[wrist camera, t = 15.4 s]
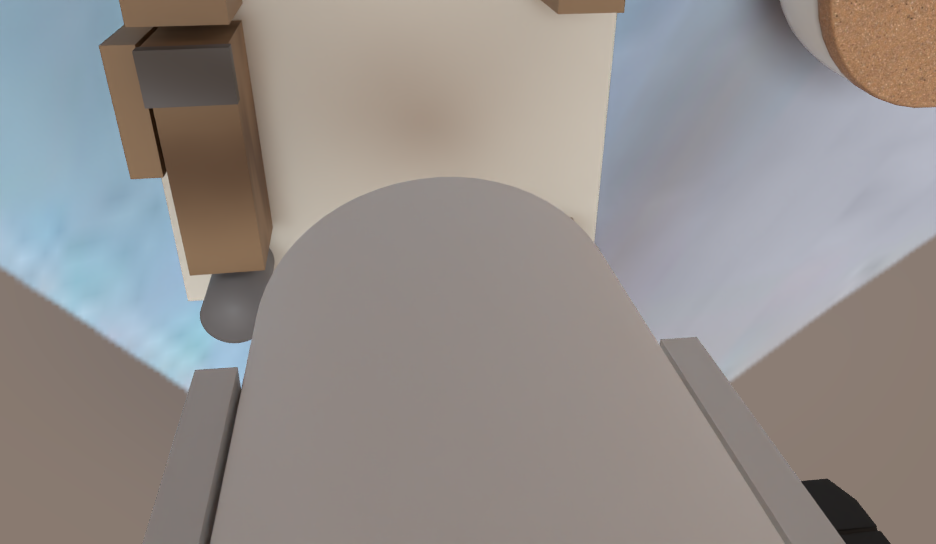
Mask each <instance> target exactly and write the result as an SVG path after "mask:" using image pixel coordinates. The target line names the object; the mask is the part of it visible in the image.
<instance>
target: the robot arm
mask: <svg viewBox="0 0 936 544" xmlns="http://www.w3.org/2000/svg"><path fill="white" fill-rule="evenodd" d="M660 347H661V348H662V350H663V352H664V353H665V355H666V356H667V358H668V359H669V361H670V363H671V364H672V366H673V367H674V369H675V371H676V372H677V374H678V375H679V377H680V378H681V380H682V382H683V383H684V385H685V386H686V388H687V390H688V391H689V393H690V394H691V396H692V397H693V399H694V401H695V402H696V404H697V405H698V407H699V409H700V410H701V412H702V413H703V415H704V416H705V418H706V420H707V421H708V423H709V424H710V426H711V427H712V429H713V431H714V432H715V434H716V435H717V437H718V439H719V440H720V442H721V443H722V445H723V446H724V448H725V450H726V451H727V453H728V454H729V456H730V458H731V459H732V461H733V462H734V464H735V465H736V467H737V469H738V470H739V472H740V473H741V475H742V477H743V478H744V480H745V481H746V483H747V484H748V486H749V488H750V489H751V491H752V492H753V494H754V496H755V497H756V499H757V500H758V502H759V503H760V505H761V507H762V508H763V510H764V511H765V513H766V515H767V516H768V518H769V519H770V521H771V522H772V524H773V526H774V527H775V529H776V530H777V532H778V534H779V535H780V537H781V538H782V540H783V541H784V543H785V544H890V542H889V541H888V540H887V539H886V537H885V536H884V535H883V533H882V532H880V531H877V528H876V527H877V526H876V525H875V523H874V522H873V521H872V520H871V518H870V517H869V516H868V514H867V513H866V512H865V511H864V509H863V508H862V507H861V506H860V504H859V503H858V502H857V500H855V499H854V498H853V497H851V496H850V495H849V494H847V493H846V492H845V491H843V490H842V489H841V488H839V487H838V486H836V485H835V484H834V483H833V482H831V481H830V480H828V479H819V480H808V481H800V479H799V478H798V477H797V475H796V474H795V473H794V471H793V470H792V469H791V467H790V466H789V464H788V463H787V461H786V460H785V459H784V458H783V456H782V455H781V453H780V452H779V451H778V449H777V448H776V446H775V445H774V443H773V442H772V441H771V439H770V438H769V437H768V435H767V434H766V432H765V431H764V430H763V428H762V427H761V425H760V424H759V423H758V421H757V420H756V419H755V417H754V416H753V414H752V413H751V412H750V410H749V409H748V407H747V406H746V405H745V403H744V402H743V401H742V399H741V398H740V396H739V395H738V394H737V392H736V391H735V389H734V388H733V387H732V385H731V384H730V382H729V381H728V380H727V378H726V377H725V376H724V374H723V373H722V371H721V370H720V369H719V367H718V366H717V364H716V363H715V362H714V360H713V359H712V357H711V356H710V355H709V353H708V352H707V351H706V349H705V348H704V346H703V345H702V344H701V342H700V341H699V339H698V338H697V337H690V338H674V339H661V340H660ZM240 394H241V386H240V380H239V374H238V368H237V367H233V368H218V369H203V370H195V372H194V375H193V378H192V382H191V385H190V388H189V392H188V395H187V399H186V402H185V405H184V408H183V412H182V415H181V418H180V422H179V425H178V428H177V431H176V435H175V438H174V441H173V445H172V448H171V451H170V454H169V458H168V461H167V464H166V468H165V471H164V474H163V478H162V481H161V484H160V488H159V491H158V494H157V497H156V501H155V504H154V507H153V511H152V514H151V517H150V520H149V524H148V527H147V530H146V534H145V537H144V540H143V544H210V540H211V535H212V530H213V525H214V520H215V515H216V510H217V506H218V501H219V496H220V491H221V486H222V481H223V476H224V472H225V467H226V462H227V457H228V452H229V447H230V442H231V438H232V433H233V428H234V423H235V418H236V413H237V408H238V404H239V399H240Z"/></svg>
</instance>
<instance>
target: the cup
mask: <svg viewBox="0 0 936 544" xmlns="http://www.w3.org/2000/svg"><path fill="white" fill-rule="evenodd" d="M210 544H785V543H784V541H783V540H782V538H781V537H780V535H779V534H778V532H777V530H776V529H775V527H774V526H773V524H772V522H771V521H770V519H769V518H768V516H767V515H766V513H765V511H764V510H763V508H762V507H761V505H760V503H759V502H758V500H757V499H756V497H755V496H754V494H753V492H752V491H751V489H750V488H749V486H748V484H747V483H746V481H745V480H744V478H743V477H742V475H741V473H740V472H739V470H738V469H737V467H736V465H735V464H734V462H733V461H732V459H731V458H730V456H729V454H728V453H727V451H726V450H725V448H724V446H723V445H722V443H721V442H720V440H719V439H718V437H717V435H716V434H715V432H714V431H713V429H712V427H711V426H710V424H709V423H708V421H707V420H706V418H705V416H704V415H703V413H702V412H701V410H700V409H699V407H698V405H697V404H696V402H695V401H694V399H693V397H692V396H691V394H690V393H689V391H688V390H687V388H686V386H685V385H684V383H683V382H682V380H681V378H680V377H679V375H678V374H677V372H676V371H675V369H674V367H673V366H672V364H671V363H670V361H669V359H668V358H667V356H666V355H665V353H664V352H663V350H662V348H661V347H660V345H659V344H658V342H657V340H656V339H655V337H654V336H653V334H652V333H651V331H650V329H649V328H648V326H647V325H646V323H645V321H644V320H643V318H642V317H641V315H640V314H639V312H638V310H637V309H636V307H635V306H634V304H633V302H632V301H631V299H630V298H629V296H628V295H627V293H626V291H625V290H624V288H623V287H622V285H621V284H620V282H619V280H618V279H617V277H616V276H615V274H614V272H613V271H612V269H611V268H610V266H609V265H608V263H607V261H606V260H605V258H604V257H603V255H602V253H601V252H600V250H599V249H598V247H597V246H596V245H595V243H594V242H593V241H592V239H591V238H590V237H589V236H588V234H587V233H586V232H585V231H584V230H583V229H582V228H581V227H580V226H579V225H578V224H577V223H576V222H575V221H574V220H572V219H571V218H570V217H569V216H567V215H566V214H565V213H564V212H563V211H561V210H560V209H558V208H556V207H555V206H553V205H552V204H550V203H549V202H547V201H545V200H543V199H541V198H539V197H537V196H535V195H533V194H531V193H529V192H526V191H524V190H521V189H519V188H516V187H513V186H509V185H506V184H502V183H499V182H494V181H489V180H483V179H477V178H465V177H434V178H424V179H416V180H411V181H406V182H401V183H396V184H393V185H390V186H386V187H383V188H380V189H377V190H374V191H372V192H369V193H367V194H364V195H362V196H359V197H357V198H355V199H353V200H351V201H349V202H347V203H345V204H343V205H342V206H340V207H338V208H337V209H335V210H334V211H332V212H331V213H329V214H327V215H326V216H324V217H323V218H322V219H321V220H319V221H318V222H317V223H316V224H314V225H313V226H312V227H310V228H309V229H308V230H307V231H306V232H305V233H304V234H303V235H302V236H301V237H300V238H299V239H298V240H297V241H296V242H295V243H294V244H293V246H292V247H291V248H290V249H289V250H288V252H287V253H286V254H285V255H284V257H283V258H282V260H281V261H280V263H279V264H278V266H277V267H276V269H275V270H274V272H273V274H272V276H271V278H270V280H269V282H268V284H267V285H266V288H265V290H264V293H263V296H262V298H261V301H260V304H259V308H258V312H257V316H256V321H255V326H254V331H253V335H252V340H251V345H250V350H249V355H248V360H247V365H246V369H245V374H244V379H243V384H242V389H241V394H240V399H239V404H238V408H237V413H236V418H235V423H234V428H233V433H232V438H231V442H230V447H229V452H228V457H227V462H226V467H225V472H224V476H223V481H222V486H221V491H220V496H219V501H218V506H217V510H216V515H215V520H214V525H213V530H212V535H211V540H210Z"/></svg>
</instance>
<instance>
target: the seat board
mask: <svg viewBox="0 0 936 544" xmlns="http://www.w3.org/2000/svg"><path fill="white" fill-rule="evenodd" d="M119 2H120V7H121V11H122V16H123V20H124V25H123V26H122V27H121V28H120V29H118V30H117V31H116V32H115V33H114V34H112V35H111V36H110V37H109V38H108V39H106V40H105V41H104V42H103V43H102V44H100V45H99V49H100V53H101V57H102V61H103V65H104V69H105V74H106V78H107V82H108V86H109V90H110V95H111V99H112V103H113V107H114V111H115V115H116V120H117V124H118V128H119V132H120V136H121V140H122V145H123V149H124V153H125V157H126V161H127V165H128V170H129V174H130V178H131V179H143V178H162V183H163V187H164V192H165V196H166V201H167V206H168V210H169V215H170V219H171V224H172V229H173V233H174V238H175V243H176V247H177V252H178V256H179V261H180V266H181V270H182V275H183V279H184V284H185V289H186V293H187V298H188V301H197V300H204V301H203V304H202V308H201V311H200V320H201V323H202V325H203V327H204V329H205V330H206V331H207V332H208V333H209V334H210V335H211V336H213V337H214V338H216V339H218V340H220V341H223V342H228V343H241V342H246V341H248V340H251V339H252V335H253V331H254V326H255V321H256V316H257V312H258V308H259V304H260V301H261V298H262V296H263V293H264V290H265V288H266V285H267V284H268V282H269V280H270V278H271V276H272V274H273V272H274V270H275V269H276V267H277V266H278V264H279V263H280V261H281V260H282V258H283V257H284V255H285V254H286V253H287V252H288V250H289V249H290V248H291V247H292V246H293V244H294V243H295V242H296V241H297V240H298V239H299V238H300V237H301V236H302V235H303V234H304V233H305V232H306V231H307V230H308V229H309V228H310V227H312V226H313V225H314V224H316V223H317V222H318V221H319V220H321V219H322V218H323V217H324V216H326V215H327V214H329V213H331V212H332V211H334V210H335V209H337V208H338V207H340V206H342V205H343V204H345V203H347V202H349V201H351V200H353V199H355V198H357V197H359V196H362V195H364V194H367V193H369V192H372V191H374V190H377V189H380V188H383V187H386V186H390V185H393V184H396V183H401V182H406V181H411V180H416V179H424V178H434V177H465V178H477V179H483V180H489V181H494V182H499V183H502V184H506V185H509V186H513V187H516V188H519V189H521V190H524V191H526V192H529V193H531V194H533V195H535V196H537V197H539V198H541V199H543V200H545V201H547V202H549V203H550V204H552V205H553V206H555V207H556V208H558V209H560V210H561V211H563V212H564V213H565V214H566V215H567V216H569V217H570V218H571V219H572V220H574V221H575V222H576V223H577V224H578V225H579V226H580V227H581V228H582V229H583V230H584V231H585V232H586V233H587V234H588V236H589V237H590V238H591V239H592V241H593V242H594V239H595V228H596V218H597V208H598V198H599V188H600V178H601V168H602V158H603V148H604V138H605V128H606V118H607V108H608V98H609V88H610V78H611V68H612V58H613V48H614V37H615V27H616V17H617V13H624V7H625V0H119ZM236 20H242V27H243V33H244V40H245V46H246V53H247V60H248V66H249V73H250V79H251V86H252V93H253V99H254V106H255V112H256V119H257V126H258V132H259V139H260V145H261V152H262V159H263V165H264V172H265V178H266V185H267V192H268V198H269V205H270V211H271V218H272V225H273V230H272V235H271V240H270V245H269V251H268V256H267V261H266V267H265V270H261V271H247V272H234V273H220V274H206V275H192V276H190V274H189V270H188V265H187V261H186V256H185V252H184V247H183V243H182V238H181V234H180V229H179V225H178V220H177V215H176V211H175V206H174V202H173V197H172V193H171V188H170V184H169V179H168V175H167V170H166V166H165V161H164V157H163V152H162V148H161V143H160V139H159V134H158V130H157V125H156V121H155V116H154V112H153V108H148V109H145V107H144V102H143V98H142V94H141V89H140V85H139V80H138V76H137V72H136V67H135V63H134V58H133V54H132V51H133V50H134V49H135V48H136V47H140V46H141V45H142V44H143V43H144V42H145V41H146V40H147V39H148V38H149V37H150V36H151V35H152V34H153V33H154V32H155V31H156V30H157V29H158V28H159V27H160V26H195V25H229V24H230V23H231V21H236Z"/></svg>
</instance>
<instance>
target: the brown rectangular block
mask: <svg viewBox="0 0 936 544" xmlns="http://www.w3.org/2000/svg"><path fill="white" fill-rule="evenodd" d="M132 54H133V58H134V63H135V67H136V72H137V76H138V80H139V85H140V89H141V94H142V98H143V102H144V107H145V109H148V108H153V112H154V116H155V121H156V125H157V130H158V134H159V139H160V143H161V148H162V152H163V157H164V161H165V166H166V170H167V175H168V179H169V184H170V188H171V193H172V197H173V202H174V206H175V211H176V215H177V220H178V225H179V229H180V234H181V238H182V243H183V247H184V252H185V256H186V261H187V265H188V270H189V274H190V276H192V275H206V274H220V273H234V272H247V271H261V270H265V267H266V261H267V256H268V251H269V245H270V240H271V235H272V230H273V225H272V218H271V211H270V205H269V198H268V192H267V185H266V178H265V172H264V165H263V159H262V152H261V145H260V139H259V132H258V126H257V119H256V112H255V106H254V99H253V93H252V86H251V79H250V73H249V66H248V60H247V53H246V46H245V40H244V33H243V27H242V20H236V21H231V23H230V24H229V25H195V26H160V27H159V28H158V29H157V30H156V31H155V32H154V33H153V34H152V35H151V36H150V37H149V38H148V39H147V40H146V41H145V42H144V43H143V44H142V45H141V46H140V47H136V48H135V49H134V50H133V51H132Z"/></svg>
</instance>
